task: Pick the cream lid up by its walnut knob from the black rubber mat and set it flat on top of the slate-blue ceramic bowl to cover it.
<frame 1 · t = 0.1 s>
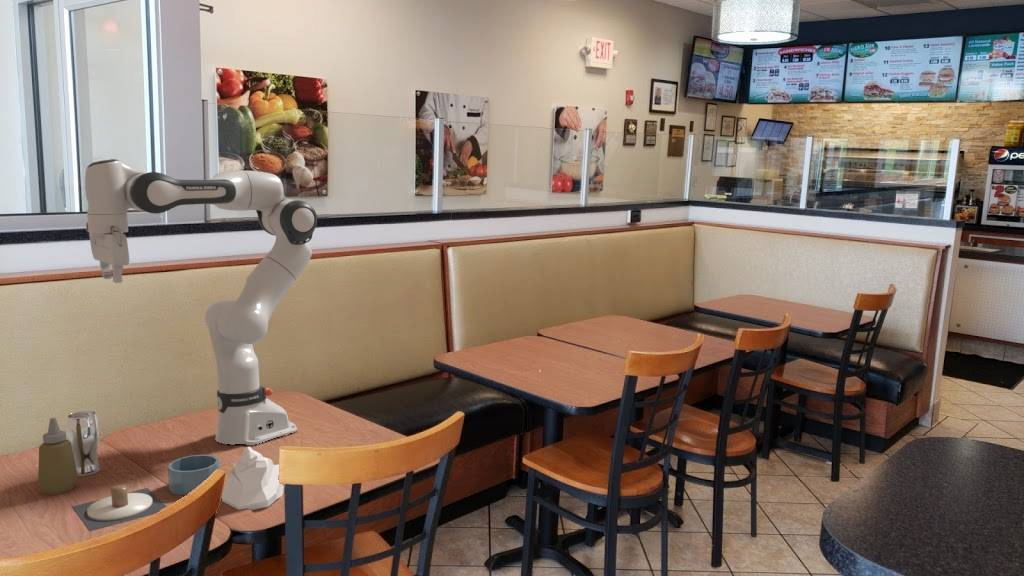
hand: (112, 280, 196), 48 cm above the table, fingers open, 8 cm apart
bowl: (195, 488, 186), on the table
beer glass: (86, 472, 197), on the table
squeeze bottle: (59, 493, 184), on the table
soft serve ice cream: (255, 501, 180), on the table
lid: (120, 508, 174), point 1 cm above the table, touching mat
mat: (120, 511, 174), on the table
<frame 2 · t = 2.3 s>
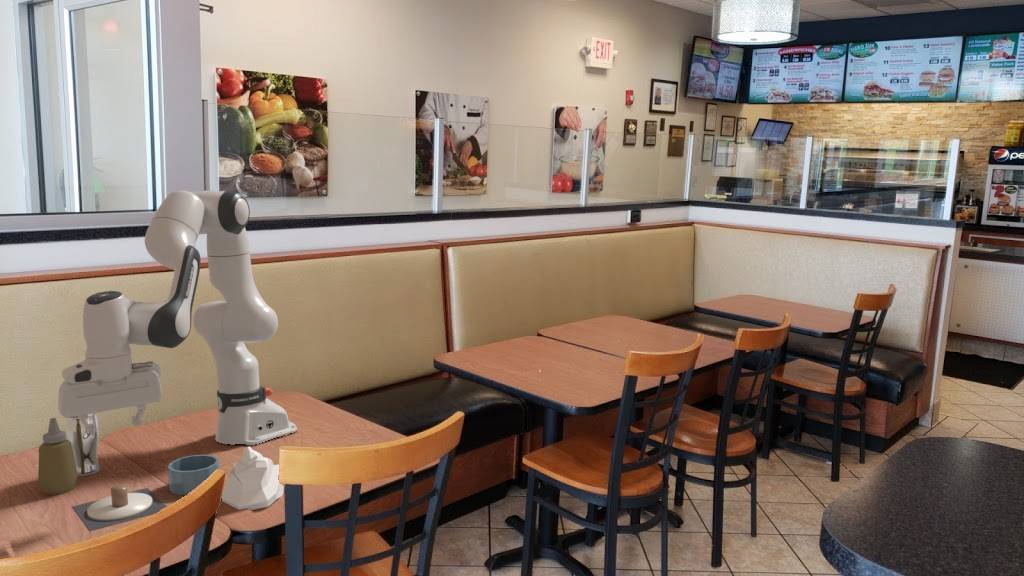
hand: (114, 428, 171), 19 cm above the table, fingers open, 8 cm apart
nothing on the table moved.
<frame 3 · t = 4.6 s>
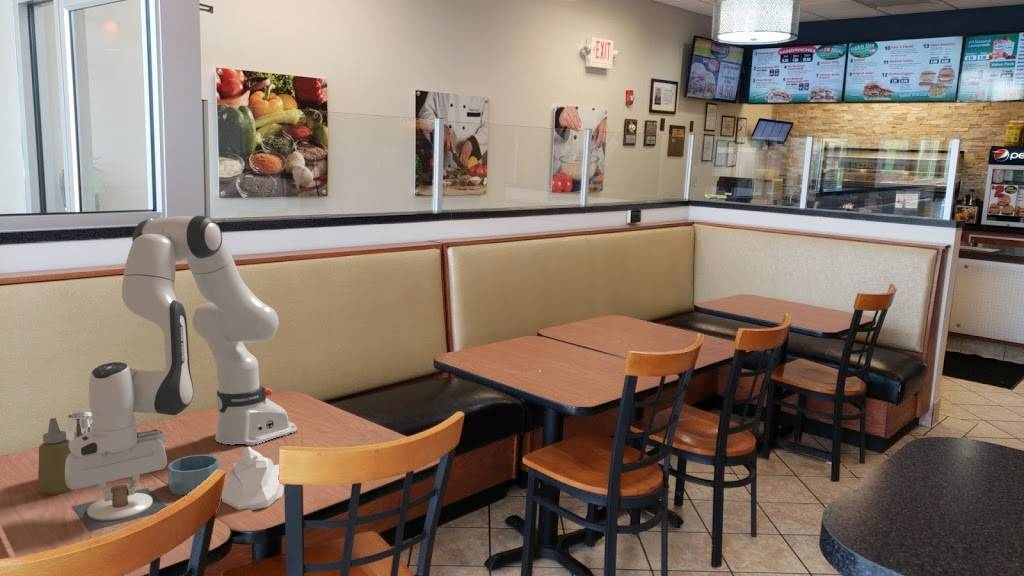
hand: (119, 497, 173), 3 cm above the table, fingers closed on lid, 3 cm apart
lid: (120, 507, 174), point 1 cm above the table, touching gripper, mat
everything else where it was.
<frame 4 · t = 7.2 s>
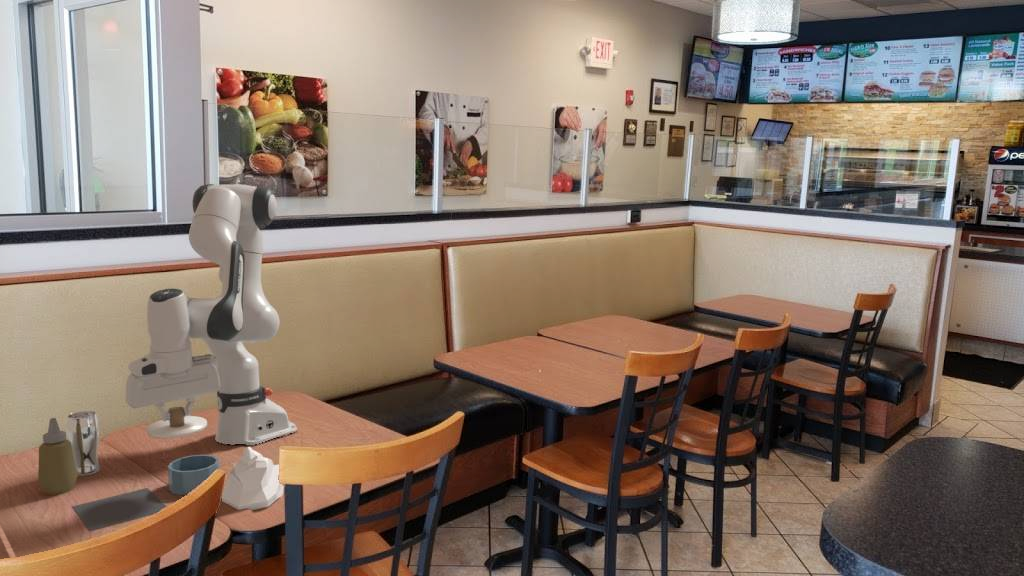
hand: (176, 417, 182), 18 cm above the table, fingers closed on lid, 3 cm apart
lid: (177, 428, 182), point 16 cm above the table, touching gripper
everything else where it was.
when the fingers open (11 cm above the table, at t = 9.8 s): lid drops 2 cm, resting on bowl.
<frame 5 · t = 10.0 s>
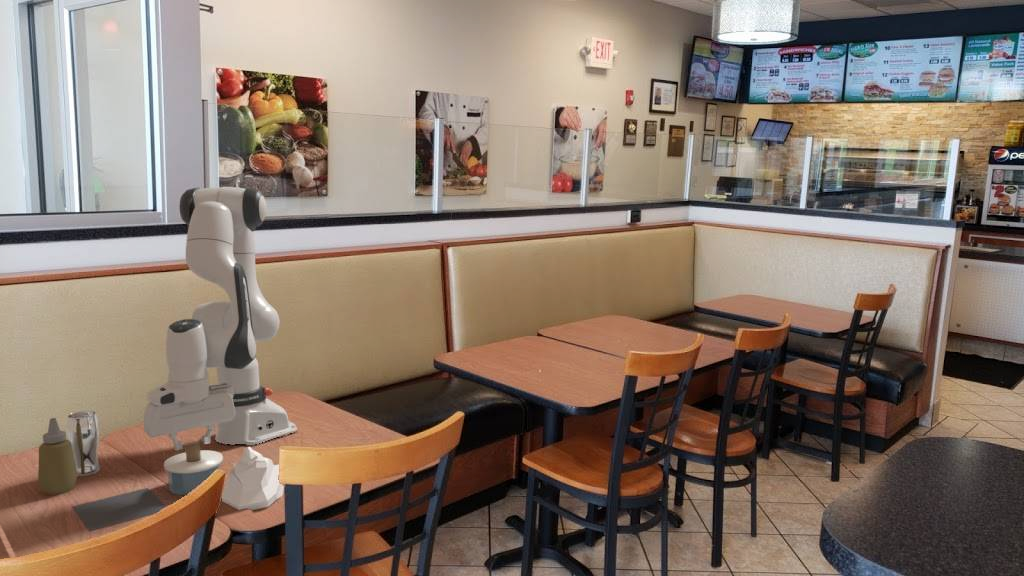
hand: (192, 446, 185), 11 cm above the table, fingers open, 5 cm apart
lid: (193, 463, 185), point 6 cm above the table, touching bowl
everything else where it was.
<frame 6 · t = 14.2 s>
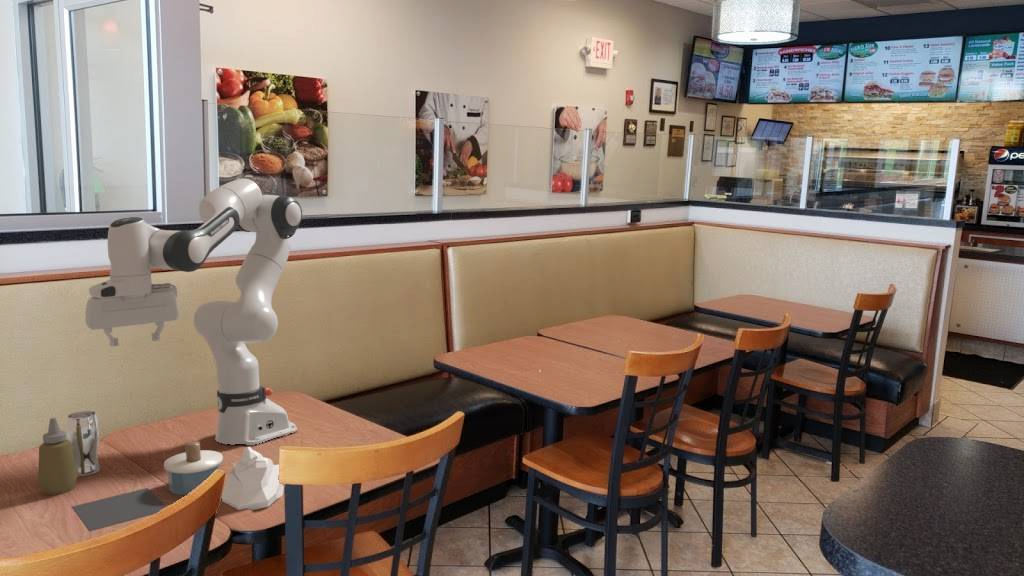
hand: (135, 343, 188), 34 cm above the table, fingers open, 8 cm apart
nothing on the table moved.
at the end: lid 0.0 cm off-centre on the bowl, point 6.4 cm above the bowl's base; lid tilted 0°; the gripper is holding nothing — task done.
